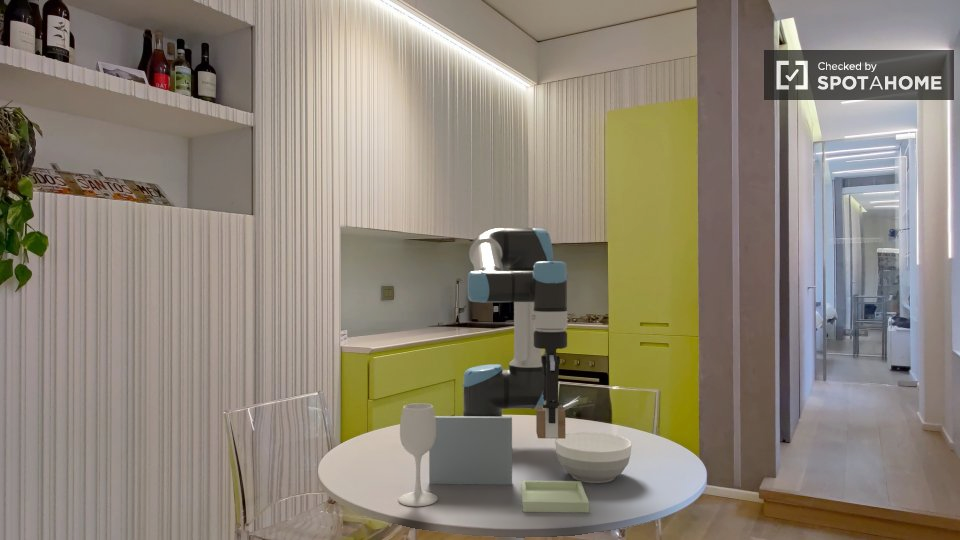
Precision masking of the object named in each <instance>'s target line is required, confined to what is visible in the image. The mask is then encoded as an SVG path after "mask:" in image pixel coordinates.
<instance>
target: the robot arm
mask: <svg viewBox="0 0 960 540" xmlns="http://www.w3.org/2000/svg"><path fill="white" fill-rule="evenodd" d="M468 257H469V260H470V262H471V264H472V265H473V270H472V271H471V270H470V272H468V275H467V299H468V301H470V302H473V303H482V304H483V303H484V304H485V303H513V309H514V310H513V314H514V315H513V331H514V332H513V335H514V336H513V337H514V338H513V342H514V343H513V359H512V360H511V361H510V362H509V363H508V369H503V367H502V366H503V365H502V364H497V363H496V364H495V363H494V364H493V363H491V364H483V365H477V366H473V367H470V368H467V369H465V372H464V373H463V379H462V381H463V382H462V383H463V384H462V387H463V392H462V393H463V394H462V395H463V398H462V399H463V401H462V402H463V404H462V405H463V406H462V409H463V410H462V411H463V413H462V414H463V415H462V416H494V417H503V410H509V409H510V410H512V409H513V410H514V409H517V410H518V409H520V410H521V409H523V410H526V409H529V410H530V409H531V410H535V409H536V405H542V406H543V408H545V438H544V439H556V438H558V406H560V403H559V375H560V364H561V359H560V357H561V356H559V355H557V350H562V349H566V348H567V347H568V332H567V331H566V330H567V328H568V301H567V300H568V273H567V272H568V269H567V263H566V262H565V261H558V260H557V261H554V250H553V245H552V239H551V237H550V233H549V232H548V231H547V230H546V229H544V228H537V227H526V228H525V227H524V228H523V227H521V228H520V227H513V228H511V227H510V228H507V227H506V228H505V227H504V228H503V227H498V228H497V227H496V228H492V229H489V230H486V231H484V232H482V233H481V234H479V235H478V236H476V238H474V239H473V240H472V242H471V243H470V247H469V250H468ZM504 268H508V270H504ZM543 350H544V351H543Z"/></svg>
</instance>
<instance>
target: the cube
mask: <svg viewBox="0 0 960 540" xmlns="http://www.w3.org/2000/svg"><path fill="white" fill-rule="evenodd" d="M535 411H536V415H535V418H536V419H535V420H536V421H535V423H536V426H535V427H536V428H535V429H536V435H537V439H546V438H545V408H543V406H542V405H536V410H535ZM565 434H566V409H565V407H564V406H563V405H559V406H558V438H565Z"/></svg>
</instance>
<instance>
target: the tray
mask: <svg viewBox="0 0 960 540" xmlns="http://www.w3.org/2000/svg"><path fill="white" fill-rule="evenodd" d="M520 493H521V494H520V495H521V507H522V512H523V513H585V514H586V513H590V501H589V499H588V497H587V494H586V492H585V489H584V486H583V483H582V481H579V480H520Z"/></svg>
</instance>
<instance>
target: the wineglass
mask: <svg viewBox="0 0 960 540" xmlns="http://www.w3.org/2000/svg"><path fill="white" fill-rule="evenodd" d="M435 416H436V414H435V410H434V406H433V405H432V404H430V403H423V402H422V403H421V402H420V403H418V402H416V403H414V402H413V403H409V404H405V405H403V407H402V411H401V416H400V422H399V438H400V442H401V445H402V448H404V449H405V451H407V452H408V453H409V454H411V455H412V456H413V458H414V461H415V486H414V487H415V488H414V491H411V492H407V493H404V494H403V495H401V496H400V497H399V498H398V502H399V504H401V505H403V506H407V507H426V506H430V505H432V504H435V503H436V502H437V501H438V496H437V495H435V494H434V493H431V492H429V491H423V490H422V485H421V463H422V462H421V461H422V458H423V456H424V455H426V454H427V453H428V452H429V450H430V449H431V448H432V446H433V445H434V443H435V439H436V419H435Z"/></svg>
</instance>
